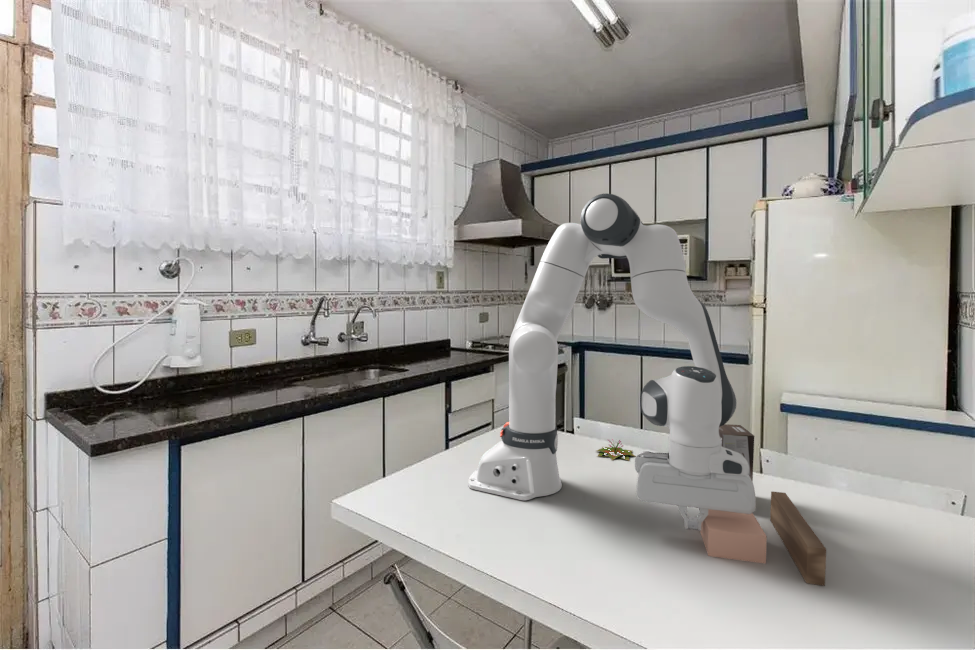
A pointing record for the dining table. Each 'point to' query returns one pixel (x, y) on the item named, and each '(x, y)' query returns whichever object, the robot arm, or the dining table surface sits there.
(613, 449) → the lily flower
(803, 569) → the walnut board
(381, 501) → the dining table surface
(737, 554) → the terracotta block
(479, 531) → the dining table surface
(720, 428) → the coffee box
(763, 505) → the dining table surface
